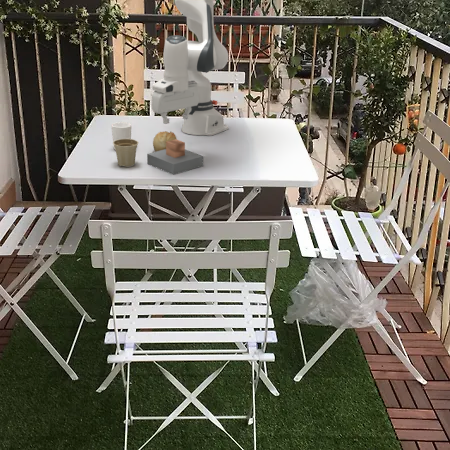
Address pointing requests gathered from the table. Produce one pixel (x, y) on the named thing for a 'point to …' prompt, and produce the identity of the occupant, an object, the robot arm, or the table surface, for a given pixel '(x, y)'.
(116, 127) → the white cup
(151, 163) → the plinth
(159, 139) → the bread roll
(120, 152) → the flower pot
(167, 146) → the cube
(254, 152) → the table surface
